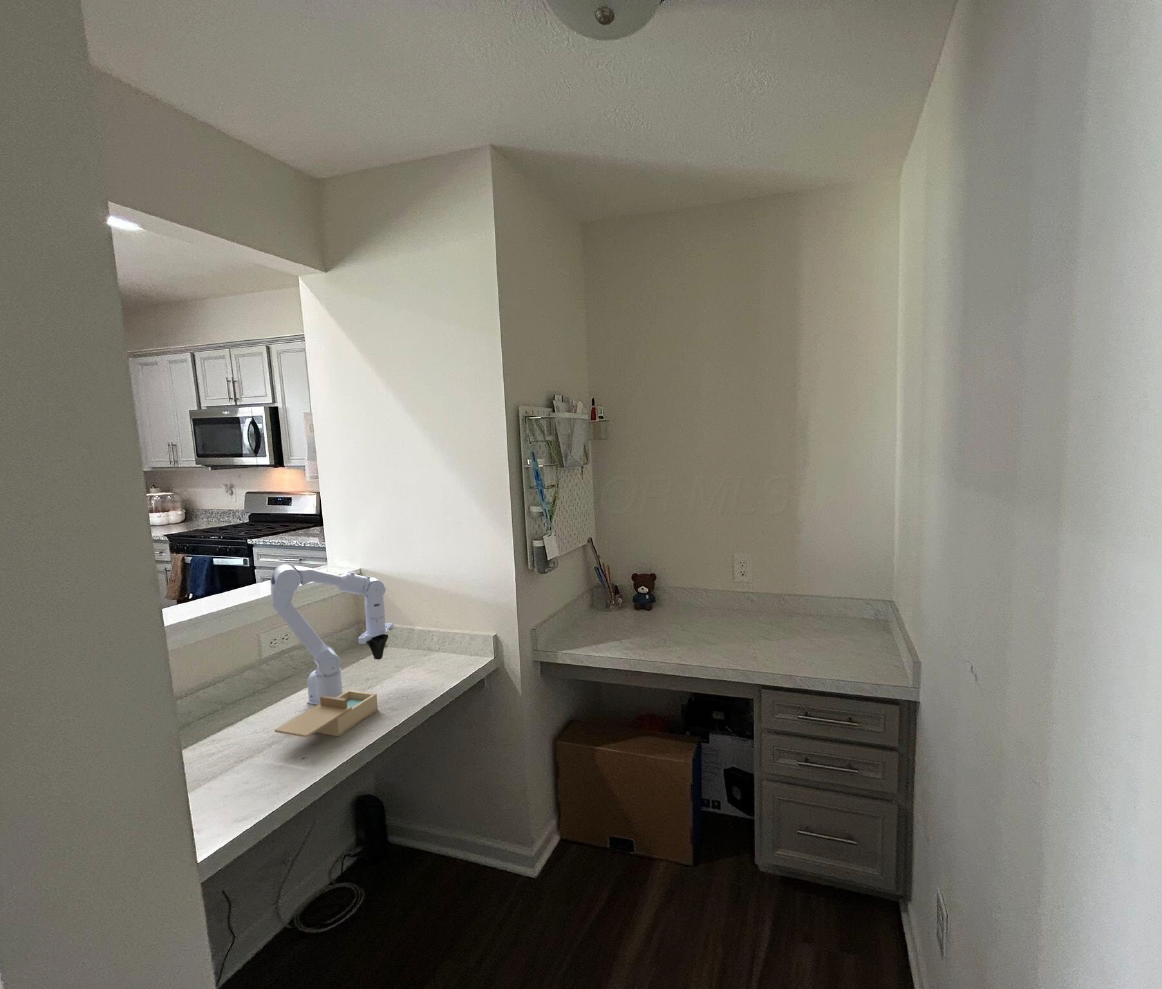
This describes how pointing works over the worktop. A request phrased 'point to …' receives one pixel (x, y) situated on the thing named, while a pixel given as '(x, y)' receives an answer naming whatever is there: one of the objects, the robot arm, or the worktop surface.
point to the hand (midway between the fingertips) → (378, 658)
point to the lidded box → (352, 712)
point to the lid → (316, 717)
